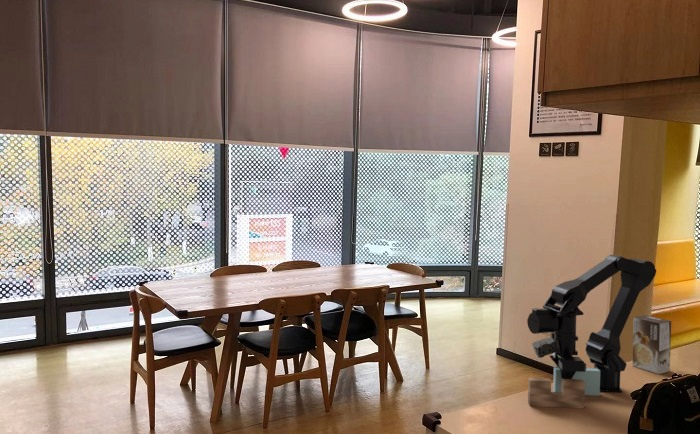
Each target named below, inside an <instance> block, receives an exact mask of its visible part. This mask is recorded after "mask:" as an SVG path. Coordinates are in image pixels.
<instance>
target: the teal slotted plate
mask: <svg viewBox="0 0 700 434" xmlns="http://www.w3.org/2000/svg"><path fill="white" fill-rule="evenodd" d="M552 378H553V385H552V390H553V391H552V392H561V381H562V379H561V371H560V368H558V367H556V366H553V377H552ZM572 379H583V381H584V382H585V396H596V397H597V396H600V395H601V393H600V392H601V391H600V370H599V369H597V368H594V367H593V368H592V367H590V368H589V367H586V371H585V372H576V373H575V374H574V376H573V377H572Z"/></svg>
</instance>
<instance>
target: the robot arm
mask: <svg viewBox="0 0 700 434" xmlns="http://www.w3.org/2000/svg"><path fill="white" fill-rule="evenodd" d="M619 272H620V282H621V286H620V288H619V290H618V292H617V295H616V297H615V298H614V301H613V303H612V306H611V308H610V310H609V312H608V314H607V316H606V319H605V321H604V324H603V325H602V328H601V329H600V330H599V331H597V332H594V331H591V333H590V334H589V336H588V339H587V341H586V342H585V345H586V346H585V352H586V355H587V357H588V359H589V363H591V364H593V368H597V369H599V370H600V392H612V393H613V392H616V393H617V392H619V393H622V392H623V389H622V388H621V372H625V370H626V368H627V363H626V362H625V361H624V359H623V358H622V357H621V356H620V353H621V341H620V337H621V335H622V332H623V330H624V328H625V326H626V323H627V321H628V319H629V317H630V315H631V312H632V310H633V308H634V305H635V304H636V301H637V300H638V297H639V294H640V293H641V292H642V291H643V290H644V289H646V288H647V287H649V286H650V285H651V283H652V281H653V280H654V278H655V277H656V274H657V269H656V266H655V264H654V263H653V262H652V261H649V260H643V259H641V258H640V259H638V258H633V257H632V258H625V257H624V256H620V255H615V254H609V255H607V256H606V257H605V258H604V259H603V260H602V261H600V262H599V263H597V264H596V265H594V266H593V267H591V268H590V269H589V270H587V271H586V272H584V273H583V274H581V275H579V276H578V277H577V278H574V279H571V280H567V281H564V282H561V283H559V284H556V285H554V287H553V288H552V289H551V293H550V295H549V296H548V298H547V299H546V301H545V302H544V303H543V306H542V308H539V307H538V308H537V307H536V308H532V309H531V310H532V311H531V312H530V313H529V314H528V317H527V320H526V323H527V327H528V329H529V332H530V333H531V334H533V335H534V334H535V335H537V334H547V333H548V334H549V333H550V337H546V338H543V339H540V340H537V341H533V342H532V343H531V345H532V347H533V350H534V354H535V355H536V356H537V358H539V359H543V358H545V357H546V356H548V355H549V358H550V360H552V362H554V364H555V367H558V368H560V371H561V379H572V377H573V376H574V374H575V373H576V372H585V371H586V368H587V364H586V363H585V361H584V360H583V359H581V357H579V356H578V354H579V351H577V350H576V347H577V346H576V342H578V341H579V336H577V316H583V315H584V312H583V311H582V310H581V309H580V308H579V306H580V305H581V304H583V302H584V301H586V299H587V296H588V294H589V293H590V292H591V291H592V290H593V289H595V288H597V287H598V286H600V285H601V284H602V283H604V282H606V281H607V280H608V279H610V278H611V277H613V276H614V275H616V274H618V273H619Z"/></svg>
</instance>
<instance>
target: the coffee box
mask: <svg viewBox="0 0 700 434" xmlns="http://www.w3.org/2000/svg"><path fill="white" fill-rule="evenodd" d="M632 327H633V329H632V330H633V331H632V332H633V334H632V367H635V368H638V369H642V370H645V371H647V372H650V373H654V374H657V375H662V374H664V373H667V372H670V371H671V341H672V340H671V337H672V320H668V319H664V318H660V317H659V318H658V317H656V316H652V315H648V314H647V315H646V314H643V315H637V316H634V317H633V326H632Z"/></svg>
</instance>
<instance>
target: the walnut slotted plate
mask: <svg viewBox="0 0 700 434" xmlns="http://www.w3.org/2000/svg"><path fill="white" fill-rule="evenodd" d="M527 379H528V382H527V385H528V388H527V404H528V406H529V407H548V408H569V409H570V408H571V409H572V408H573V409H574V408H575V409H585V398H586V395H585V382H584V381H583V379H562V381H561V392H553V391H552V380H551V379H550V378H547V377H528V378H527Z"/></svg>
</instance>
